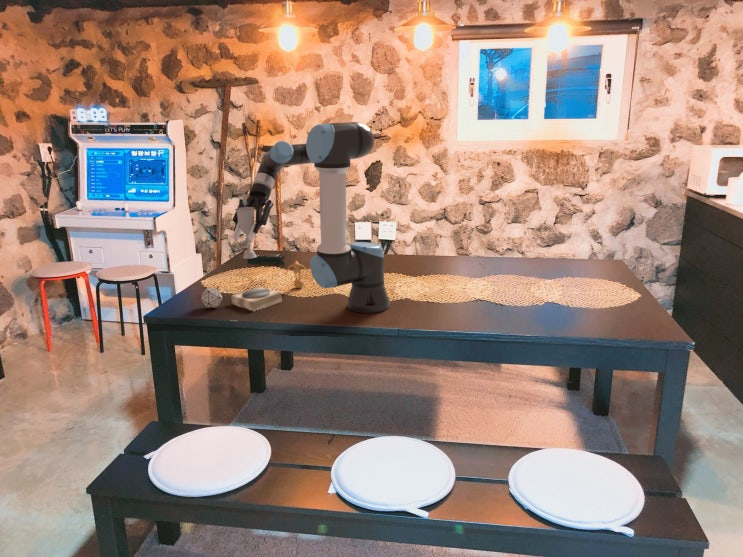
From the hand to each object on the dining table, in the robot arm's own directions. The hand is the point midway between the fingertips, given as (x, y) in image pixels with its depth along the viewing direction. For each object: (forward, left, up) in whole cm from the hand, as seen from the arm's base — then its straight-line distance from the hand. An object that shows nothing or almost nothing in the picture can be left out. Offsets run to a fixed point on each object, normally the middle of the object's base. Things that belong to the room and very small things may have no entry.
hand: (242, 239), depth 214 cm
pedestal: (-2, -2, -24) cm, 24 cm away
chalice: (+1, -3, -8) cm, 8 cm away
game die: (+6, +11, -24) cm, 28 cm away
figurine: (-2, -23, -24) cm, 34 cm away
